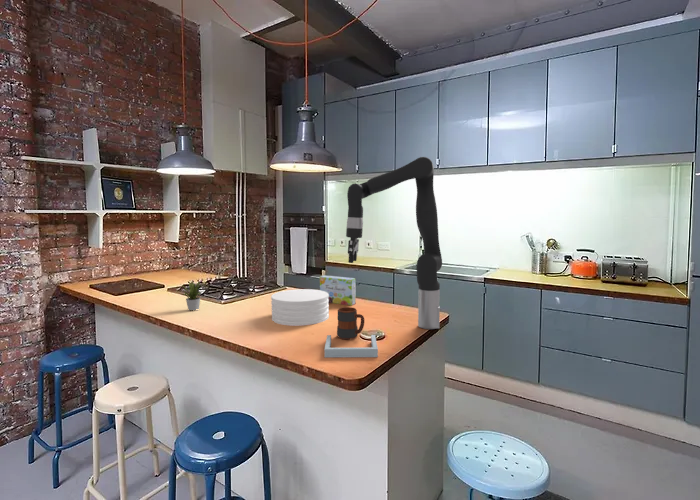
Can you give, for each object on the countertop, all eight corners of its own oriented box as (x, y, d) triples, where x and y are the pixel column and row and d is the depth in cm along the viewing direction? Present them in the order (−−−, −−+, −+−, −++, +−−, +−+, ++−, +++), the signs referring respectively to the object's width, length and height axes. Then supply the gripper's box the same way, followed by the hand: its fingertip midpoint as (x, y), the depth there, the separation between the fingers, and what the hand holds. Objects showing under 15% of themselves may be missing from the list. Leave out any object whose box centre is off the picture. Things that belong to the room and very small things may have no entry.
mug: (360, 342, 149) (359, 313, 148) (333, 338, 154) (333, 310, 153) (368, 336, 157) (368, 308, 156) (342, 332, 162) (342, 305, 161)
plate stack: (338, 320, 181) (338, 296, 180) (283, 329, 167) (282, 304, 166) (314, 307, 205) (314, 287, 204) (264, 315, 192) (263, 292, 190)
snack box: (319, 302, 218) (319, 276, 217) (324, 300, 223) (324, 275, 222) (351, 306, 208) (351, 279, 207) (356, 303, 213) (356, 277, 212)
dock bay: (375, 342, 149) (375, 334, 149) (377, 357, 134) (377, 348, 134) (327, 342, 149) (327, 335, 149) (324, 357, 134) (324, 349, 134)
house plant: (215, 308, 205) (214, 278, 203) (194, 314, 192) (193, 283, 191) (197, 305, 211) (196, 277, 210) (176, 311, 199) (174, 281, 197)
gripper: (360, 228, 167) (357, 264, 169) (364, 227, 181) (362, 260, 183) (343, 227, 169) (341, 262, 170) (349, 226, 182) (347, 259, 184)
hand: (352, 261), depth 176 cm, fingers open, 8 cm apart
